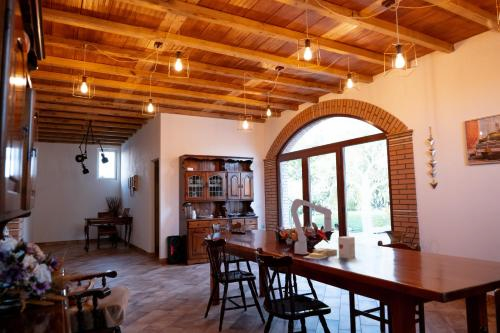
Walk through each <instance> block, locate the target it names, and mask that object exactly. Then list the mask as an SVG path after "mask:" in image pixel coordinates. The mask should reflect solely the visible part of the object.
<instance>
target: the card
mask: <svg viewBox="0 0 500 333" xmlns="http://www.w3.org/2000/svg"><path fill="white" fill-rule="evenodd" d="M308 256H309V257H316V258H321V257H324V254H319V253H313V252H312V253H308Z"/></svg>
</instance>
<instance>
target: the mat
mask: <svg viewBox="0 0 500 333" xmlns="http://www.w3.org/2000/svg"><path fill="white" fill-rule="evenodd" d="M303 258H305V259H312V260H313V259H314V260H322V259H326V258H329V257H328V256H324V257H321V258H316V257H309V255H306V256H303Z"/></svg>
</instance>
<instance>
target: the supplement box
mask: <svg viewBox="0 0 500 333" xmlns="http://www.w3.org/2000/svg"><path fill="white" fill-rule="evenodd" d="M337 240H338V244H337V245H338V258H341V259H349V260H350V259H353V258H356V249H355V248H356V243H355V237H354V236H338V238H337Z"/></svg>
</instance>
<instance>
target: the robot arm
mask: <svg viewBox="0 0 500 333" xmlns="http://www.w3.org/2000/svg"><path fill="white" fill-rule="evenodd" d="M301 206H306V207H309V208H311V209H314V211H315V212H317V213H318V214H321V215H323V217H324V218H323V226H324V227H323V228H324V229H321V231H322V233H323V234H324V236H325V239H326V241H327V242H330V241H331V237H332V235H333V232H334V231H335V228H333V226H332V214H333V212H332V210H331V209H330V208H327V207H326V206H325V207H324V206H322V204H313V203H311V202H310V201H307V200H304V199H300V198H295V199H294V200H293V201H292V204H291V207H290V213H291V216H292V217H291V218H292V220H293V223H294V225H295V229H296V232H297V240H298V241H295V242H294V254H296V255H297V254H299V255H309V254H310V252H308V246H307V245H308V244H307V236H306V235H305V233H304V230H303V227H302V223H301V221H300V218H299V214H298V210H299V208H300V207H301Z"/></svg>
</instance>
